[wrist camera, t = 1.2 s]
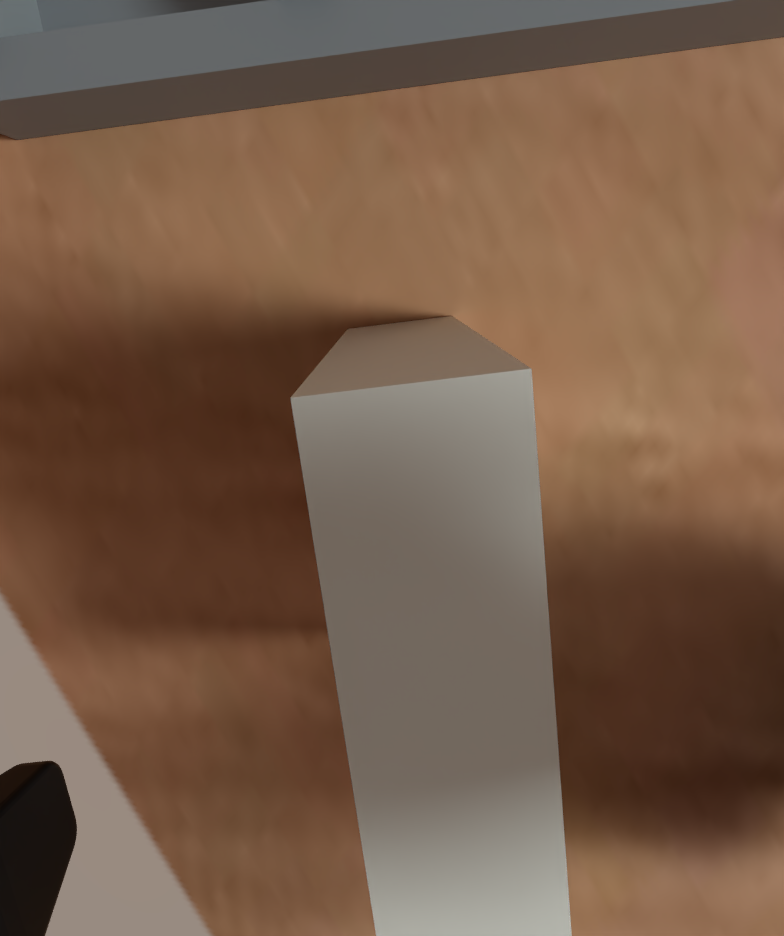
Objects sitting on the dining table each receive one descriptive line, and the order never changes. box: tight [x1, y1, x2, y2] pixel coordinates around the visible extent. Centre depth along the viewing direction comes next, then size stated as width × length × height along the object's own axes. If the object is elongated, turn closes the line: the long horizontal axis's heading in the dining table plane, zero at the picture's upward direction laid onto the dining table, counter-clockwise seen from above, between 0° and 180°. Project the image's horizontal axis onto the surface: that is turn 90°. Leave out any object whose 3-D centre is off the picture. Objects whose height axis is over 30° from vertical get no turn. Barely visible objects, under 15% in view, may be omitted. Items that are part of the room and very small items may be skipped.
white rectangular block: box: [290, 316, 572, 936], centre depth 13 cm, size 2×8×10 cm, turn 7°
